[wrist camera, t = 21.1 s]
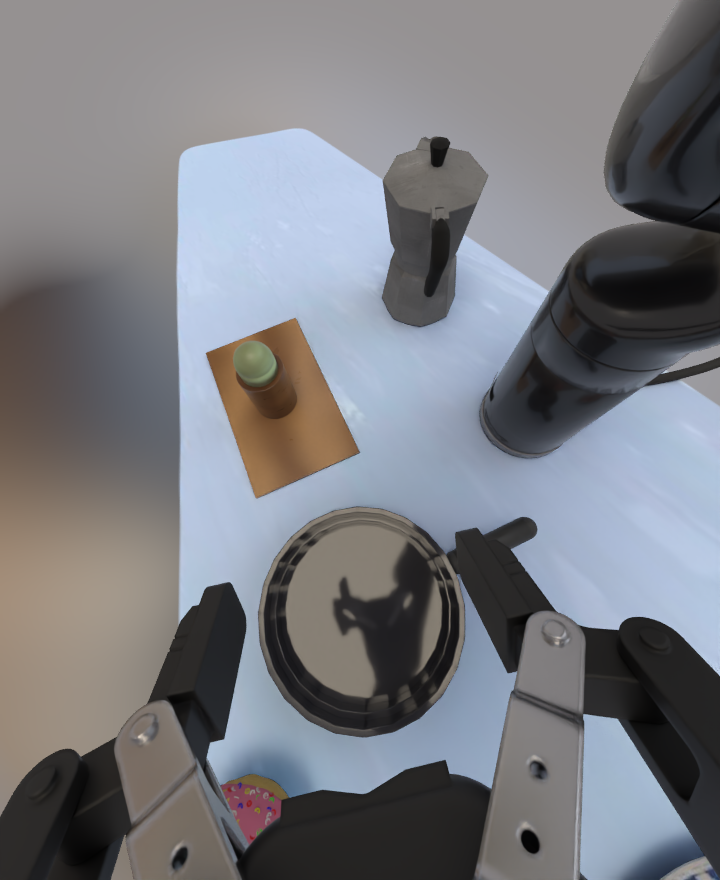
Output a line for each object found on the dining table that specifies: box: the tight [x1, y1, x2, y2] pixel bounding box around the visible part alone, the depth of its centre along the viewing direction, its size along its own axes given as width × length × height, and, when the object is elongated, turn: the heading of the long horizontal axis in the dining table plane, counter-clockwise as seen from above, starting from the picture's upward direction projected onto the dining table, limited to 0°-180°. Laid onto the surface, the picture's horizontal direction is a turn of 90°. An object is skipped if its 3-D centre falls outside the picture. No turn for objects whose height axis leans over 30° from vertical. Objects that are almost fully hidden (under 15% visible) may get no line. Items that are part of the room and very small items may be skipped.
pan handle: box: [446, 517, 537, 574], centre depth 32 cm, size 9×2×2 cm, turn 114°
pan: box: [258, 507, 465, 737], centre depth 32 cm, size 17×17×4 cm
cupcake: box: [220, 774, 289, 845], centre depth 23 cm, size 9×8×12 cm
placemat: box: [206, 318, 360, 498], centre depth 42 cm, size 12×20×1 cm, turn 24°
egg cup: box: [233, 341, 297, 419], centre depth 37 cm, size 5×5×10 cm
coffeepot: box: [382, 137, 488, 326], centre depth 37 cm, size 15×9×18 cm, turn 0°
